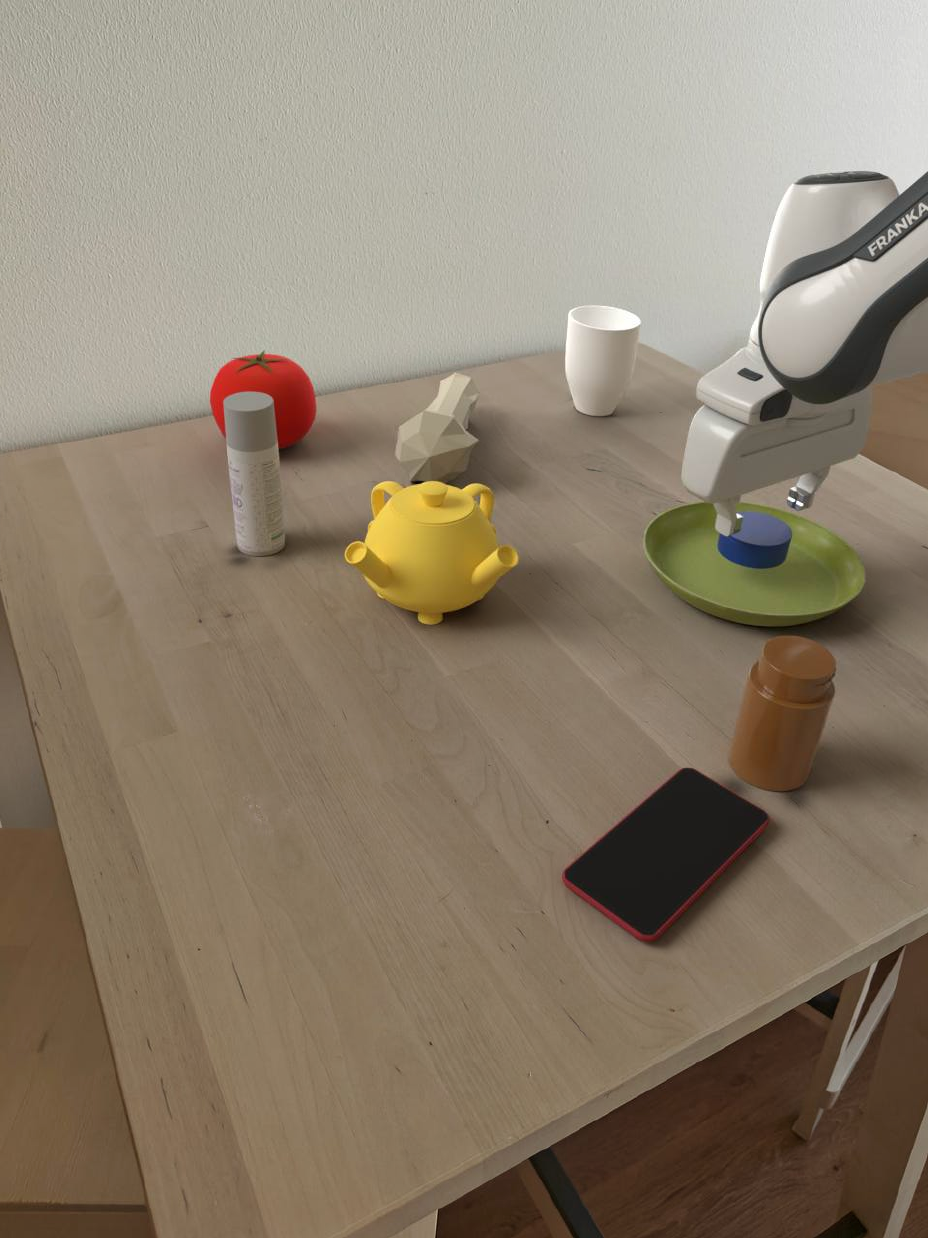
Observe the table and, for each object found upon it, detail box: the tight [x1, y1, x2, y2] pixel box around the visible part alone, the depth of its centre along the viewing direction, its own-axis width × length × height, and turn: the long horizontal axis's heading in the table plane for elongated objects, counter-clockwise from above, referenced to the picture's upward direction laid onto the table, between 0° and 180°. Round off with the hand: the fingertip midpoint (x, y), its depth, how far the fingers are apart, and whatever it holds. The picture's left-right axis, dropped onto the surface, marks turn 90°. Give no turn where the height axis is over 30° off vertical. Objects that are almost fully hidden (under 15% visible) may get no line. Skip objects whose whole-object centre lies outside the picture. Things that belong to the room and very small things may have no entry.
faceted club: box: [394, 372, 480, 485], centre depth 117 cm, size 9×8×25 cm
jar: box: [727, 635, 837, 792], centre depth 73 cm, size 6×6×10 cm
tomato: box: [209, 349, 317, 450], centre depth 115 cm, size 12×12×10 cm
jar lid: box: [717, 511, 792, 569], centre depth 95 cm, size 6×6×2 cm
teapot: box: [344, 480, 520, 626], centre depth 90 cm, size 14×14×11 cm
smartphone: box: [561, 767, 770, 943], centre depth 68 cm, size 7×1×15 cm
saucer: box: [642, 501, 866, 627], centre depth 97 cm, size 21×21×3 cm
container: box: [223, 392, 286, 557], centre depth 95 cm, size 5×5×15 cm
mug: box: [564, 305, 641, 417], centre depth 128 cm, size 12×9×12 cm
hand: (763, 519), depth 93 cm, fingers open, 8 cm apart
